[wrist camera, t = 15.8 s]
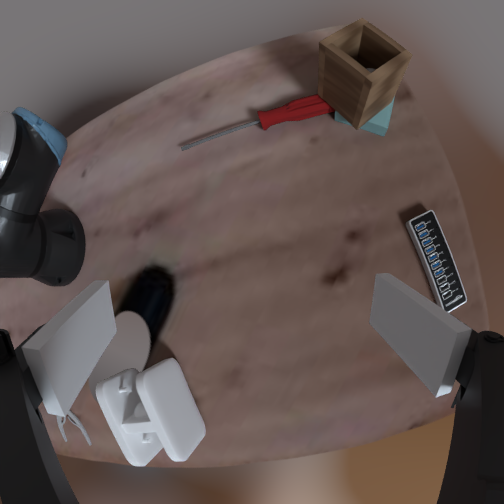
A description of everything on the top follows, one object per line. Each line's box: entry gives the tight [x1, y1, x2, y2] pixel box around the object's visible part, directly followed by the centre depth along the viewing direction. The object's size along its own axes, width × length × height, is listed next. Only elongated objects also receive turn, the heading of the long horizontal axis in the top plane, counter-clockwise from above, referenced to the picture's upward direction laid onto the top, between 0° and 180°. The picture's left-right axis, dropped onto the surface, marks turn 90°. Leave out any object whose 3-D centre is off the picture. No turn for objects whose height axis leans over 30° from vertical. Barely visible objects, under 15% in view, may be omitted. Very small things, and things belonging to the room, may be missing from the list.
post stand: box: [335, 68, 395, 137], centre depth 37 cm, size 8×8×9 cm
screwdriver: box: [181, 94, 336, 151], centre depth 44 cm, size 4×25×4 cm, turn 105°
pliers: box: [57, 409, 92, 445], centre depth 50 cm, size 10×2×15 cm
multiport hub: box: [406, 210, 467, 313], centre depth 38 cm, size 4×14×2 cm, turn 24°
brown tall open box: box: [318, 18, 412, 130], centre depth 33 cm, size 8×8×12 cm
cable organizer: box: [96, 358, 206, 466], centre depth 40 cm, size 15×11×12 cm
